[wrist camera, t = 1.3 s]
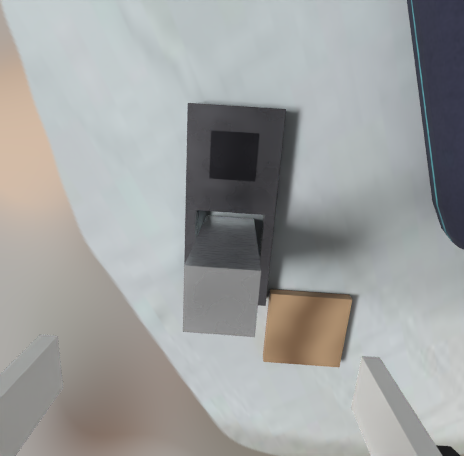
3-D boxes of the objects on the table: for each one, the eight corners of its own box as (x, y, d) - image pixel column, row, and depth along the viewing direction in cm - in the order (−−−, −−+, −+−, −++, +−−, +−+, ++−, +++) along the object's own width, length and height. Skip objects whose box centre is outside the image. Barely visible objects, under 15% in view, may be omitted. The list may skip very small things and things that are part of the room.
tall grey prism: (253, 218, 30) (261, 270, 18) (250, 262, 31) (254, 336, 20) (206, 215, 30) (184, 265, 18) (204, 259, 31) (183, 331, 20)
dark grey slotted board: (283, 110, 27) (286, 109, 25) (264, 297, 32) (265, 306, 30) (190, 104, 27) (187, 102, 25) (186, 292, 32) (183, 300, 31)
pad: (348, 294, 32) (352, 299, 31) (336, 360, 34) (339, 367, 33) (270, 289, 32) (271, 293, 31) (262, 355, 34) (263, 361, 33)
